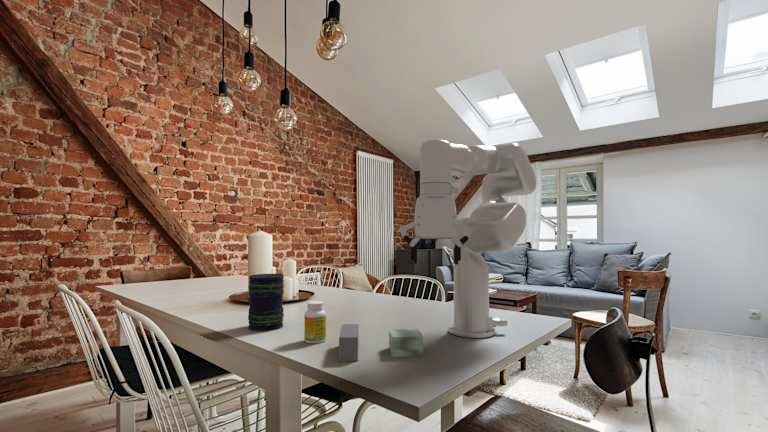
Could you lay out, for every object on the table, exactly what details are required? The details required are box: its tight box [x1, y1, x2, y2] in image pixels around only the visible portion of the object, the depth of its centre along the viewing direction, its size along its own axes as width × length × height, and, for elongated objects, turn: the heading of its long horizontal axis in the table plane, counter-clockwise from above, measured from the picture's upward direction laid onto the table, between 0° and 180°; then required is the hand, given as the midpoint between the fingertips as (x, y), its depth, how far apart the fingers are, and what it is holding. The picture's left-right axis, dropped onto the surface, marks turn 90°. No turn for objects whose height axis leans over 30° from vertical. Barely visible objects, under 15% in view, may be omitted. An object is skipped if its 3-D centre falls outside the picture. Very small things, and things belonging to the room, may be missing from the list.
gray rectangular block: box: [338, 323, 359, 362], centre depth 90 cm, size 4×12×5 cm, turn 3°
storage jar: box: [247, 273, 285, 332], centre depth 113 cm, size 10×10×15 cm
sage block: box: [388, 328, 424, 358], centre depth 90 cm, size 7×7×4 cm
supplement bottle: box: [303, 300, 327, 344], centre depth 99 cm, size 5×5×10 cm
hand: (435, 263), depth 93 cm, fingers open, 9 cm apart
